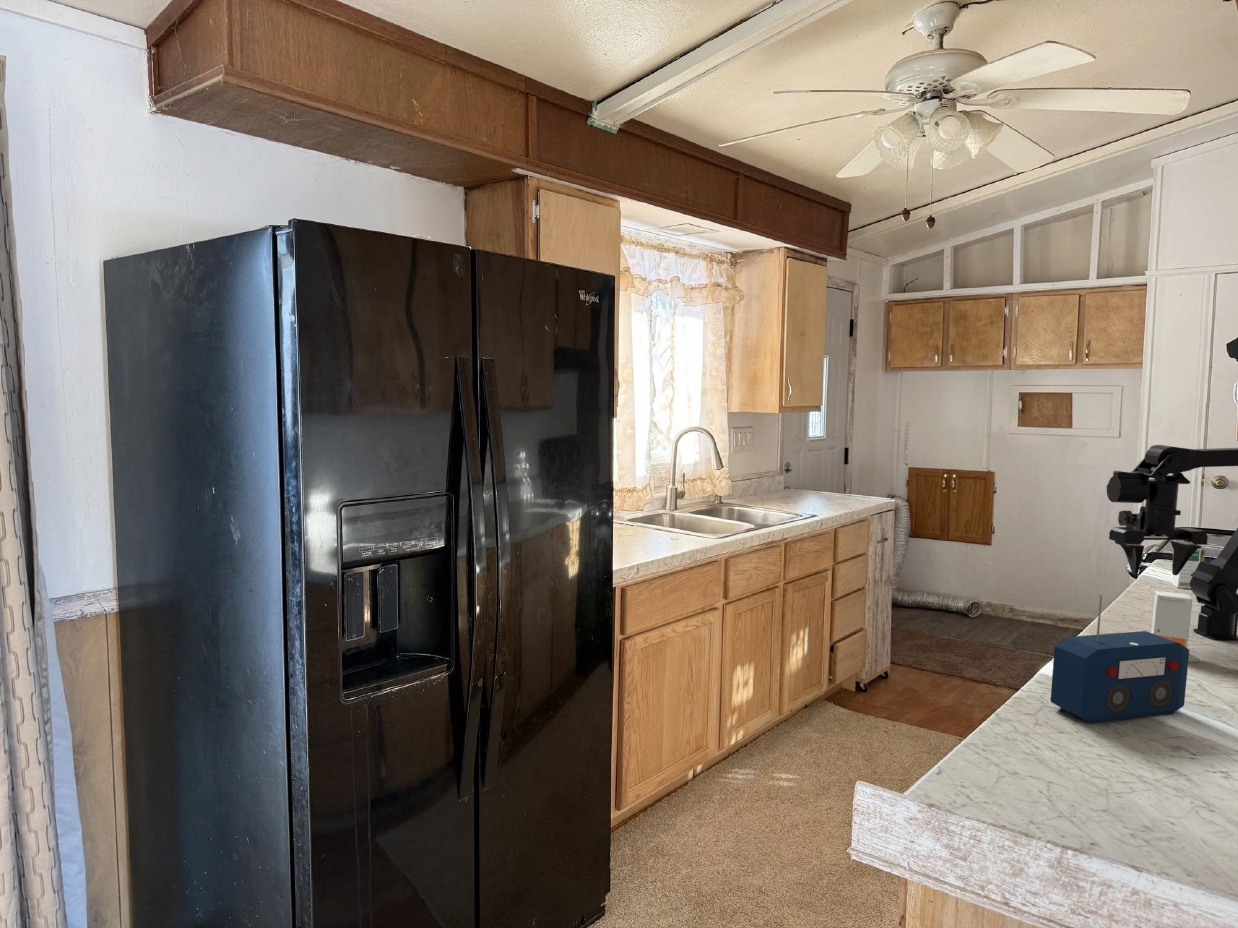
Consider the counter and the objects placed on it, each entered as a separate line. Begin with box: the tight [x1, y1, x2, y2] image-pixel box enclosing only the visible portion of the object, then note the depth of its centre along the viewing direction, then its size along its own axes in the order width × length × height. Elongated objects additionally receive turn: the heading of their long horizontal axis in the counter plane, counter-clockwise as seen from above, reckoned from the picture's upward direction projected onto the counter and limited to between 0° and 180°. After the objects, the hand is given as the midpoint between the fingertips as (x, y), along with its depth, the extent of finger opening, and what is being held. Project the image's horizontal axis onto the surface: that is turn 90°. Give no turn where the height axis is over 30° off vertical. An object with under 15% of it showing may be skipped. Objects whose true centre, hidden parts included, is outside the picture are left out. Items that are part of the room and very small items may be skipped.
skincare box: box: [1150, 590, 1193, 649], centre depth 170 cm, size 6×4×12 cm
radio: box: [1050, 594, 1190, 724], centre depth 140 cm, size 21×9×20 cm, turn 105°
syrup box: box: [1170, 540, 1206, 590], centre depth 229 cm, size 6×6×14 cm
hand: (1154, 574), depth 185 cm, fingers open, 9 cm apart
